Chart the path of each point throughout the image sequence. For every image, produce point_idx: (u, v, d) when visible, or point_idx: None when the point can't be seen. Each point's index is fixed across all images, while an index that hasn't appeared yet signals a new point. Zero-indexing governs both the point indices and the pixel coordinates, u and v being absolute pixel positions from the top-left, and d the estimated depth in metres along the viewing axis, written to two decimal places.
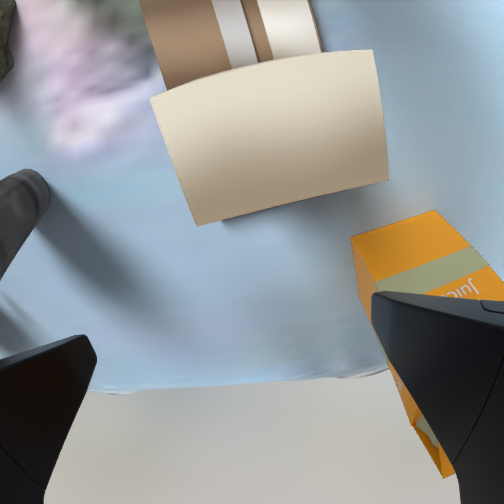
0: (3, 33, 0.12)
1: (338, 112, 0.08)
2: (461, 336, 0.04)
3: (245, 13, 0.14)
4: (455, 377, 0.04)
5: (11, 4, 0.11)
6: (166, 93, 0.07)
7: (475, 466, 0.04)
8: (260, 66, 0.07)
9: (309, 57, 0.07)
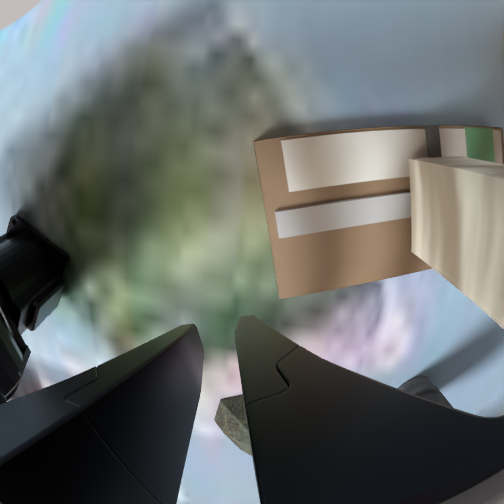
0: None
1: None
2: None
3: (356, 196, 0.18)
4: None
5: None
6: None
7: None
8: None
9: None
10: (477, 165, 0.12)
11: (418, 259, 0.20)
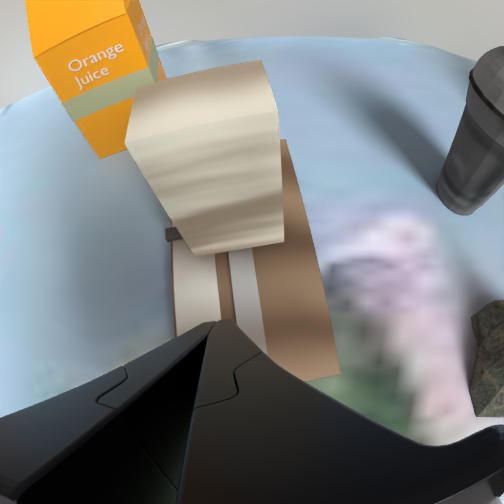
0: (481, 354, 0.17)
1: (158, 109, 0.12)
2: None
3: (233, 304, 0.20)
4: None
5: (473, 389, 0.16)
6: (265, 112, 0.11)
7: None
8: (200, 124, 0.11)
9: (167, 131, 0.11)
10: None
11: (296, 231, 0.22)
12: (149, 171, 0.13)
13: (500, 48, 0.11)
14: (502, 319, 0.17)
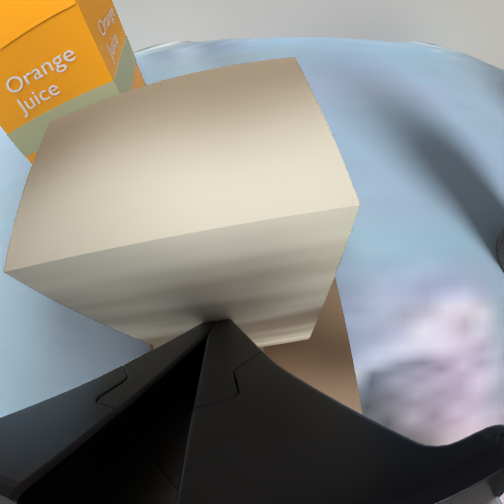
0: None
1: (68, 179, 0.05)
2: None
3: None
4: None
5: None
6: (327, 209, 0.04)
7: None
8: (148, 240, 0.04)
9: (74, 254, 0.04)
10: None
11: (328, 336, 0.15)
12: (73, 303, 0.06)
13: None
14: None
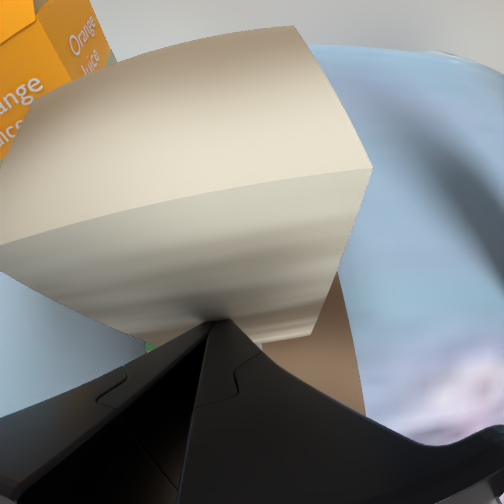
0: None
1: (45, 152, 0.04)
2: None
3: None
4: None
5: None
6: (334, 172, 0.03)
7: None
8: (122, 211, 0.03)
9: (43, 230, 0.03)
10: None
11: None
12: (51, 291, 0.05)
13: None
14: None
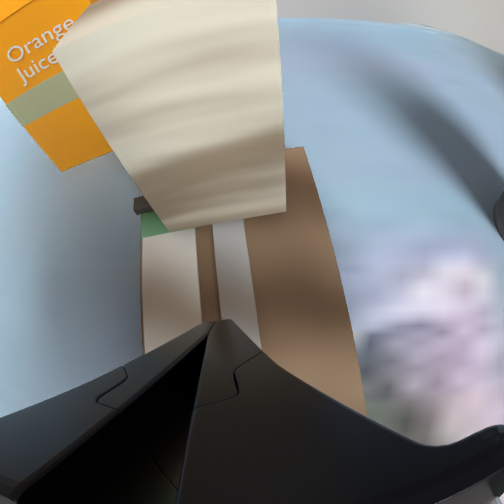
0: None
1: (107, 11, 0.06)
2: None
3: None
4: None
5: None
6: None
7: None
8: (156, 10, 0.06)
9: (109, 25, 0.06)
10: None
11: (323, 291, 0.14)
12: (89, 94, 0.07)
13: None
14: None
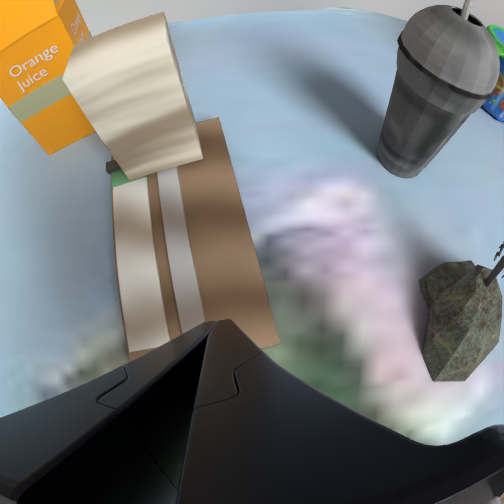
0: (431, 318, 0.19)
1: (87, 54, 0.13)
2: None
3: (172, 282, 0.21)
4: None
5: (426, 353, 0.19)
6: (158, 41, 0.13)
7: None
8: (113, 57, 0.12)
9: (91, 65, 0.12)
10: None
11: (229, 206, 0.22)
12: (81, 99, 0.14)
13: (430, 8, 0.11)
14: (451, 281, 0.19)
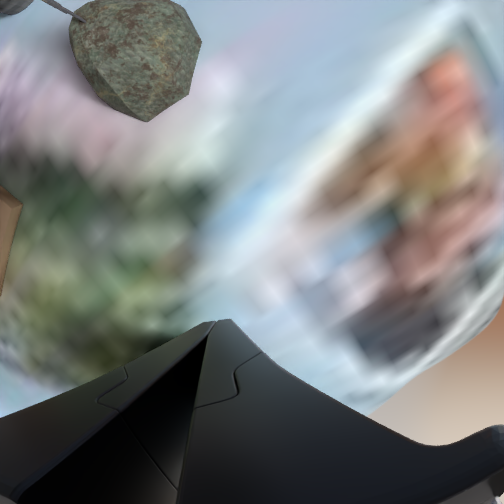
0: None
1: None
2: None
3: None
4: None
5: (115, 108, 0.17)
6: None
7: None
8: None
9: None
10: None
11: None
12: None
13: None
14: None
